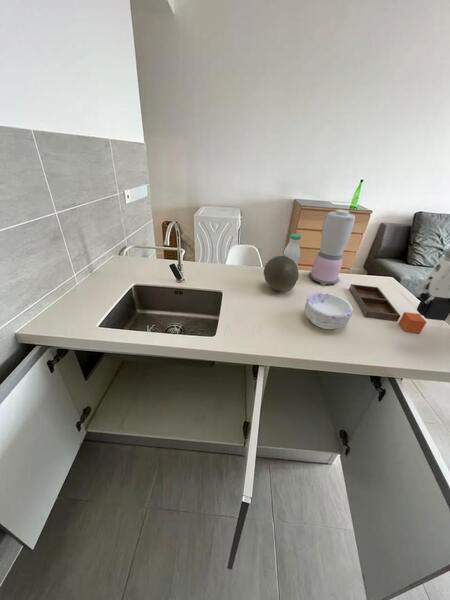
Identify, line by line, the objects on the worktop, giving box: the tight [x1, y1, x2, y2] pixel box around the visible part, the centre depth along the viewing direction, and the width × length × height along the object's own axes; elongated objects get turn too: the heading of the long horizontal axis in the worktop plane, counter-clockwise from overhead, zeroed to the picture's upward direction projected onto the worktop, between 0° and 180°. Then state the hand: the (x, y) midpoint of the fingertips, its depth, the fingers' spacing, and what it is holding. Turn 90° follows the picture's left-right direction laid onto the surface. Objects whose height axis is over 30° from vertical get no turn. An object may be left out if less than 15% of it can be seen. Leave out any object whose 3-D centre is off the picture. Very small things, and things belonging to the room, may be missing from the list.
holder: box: [348, 283, 401, 322], centre depth 100 cm, size 12×22×3 cm, turn 171°
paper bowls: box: [303, 292, 354, 330], centre depth 86 cm, size 15×15×8 cm
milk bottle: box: [282, 233, 302, 268], centre depth 115 cm, size 8×8×20 cm
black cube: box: [423, 295, 450, 322], centre depth 70 cm, size 5×5×5 cm
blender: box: [309, 209, 356, 287], centre depth 110 cm, size 16×12×32 cm
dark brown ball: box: [263, 255, 299, 292], centre depth 102 cm, size 14×14×15 cm
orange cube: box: [398, 311, 427, 334], centre depth 85 cm, size 5×5×5 cm
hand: (431, 313), depth 71 cm, fingers closed on black cube, 5 cm apart
